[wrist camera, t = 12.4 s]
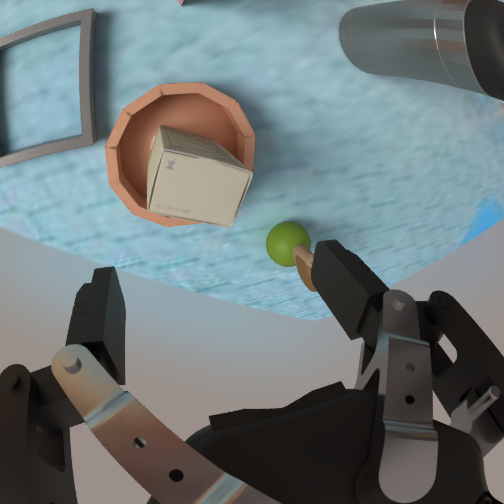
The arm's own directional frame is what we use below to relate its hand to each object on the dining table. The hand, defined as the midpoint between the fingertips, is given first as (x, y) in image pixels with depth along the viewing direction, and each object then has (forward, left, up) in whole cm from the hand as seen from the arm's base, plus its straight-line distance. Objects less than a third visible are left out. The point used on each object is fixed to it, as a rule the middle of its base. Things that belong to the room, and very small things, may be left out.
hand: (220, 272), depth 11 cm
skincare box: (0, 0, -21) cm, 21 cm away
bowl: (0, 0, -21) cm, 21 cm away
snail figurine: (-12, +11, -21) cm, 27 cm away
